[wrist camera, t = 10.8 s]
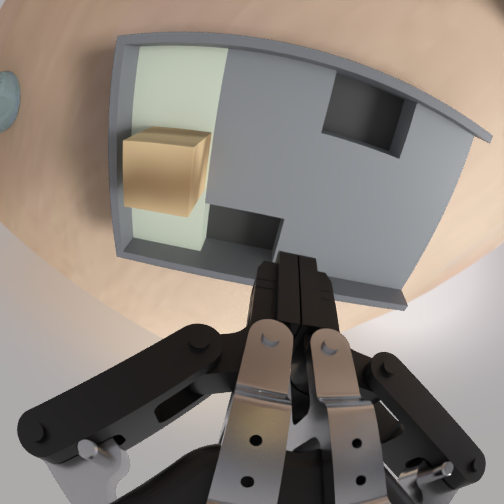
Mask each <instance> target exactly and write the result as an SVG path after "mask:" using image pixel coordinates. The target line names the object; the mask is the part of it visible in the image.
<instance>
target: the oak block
mask: <svg viewBox="0 0 504 504" xmlns="http://www.w3.org/2000/svg"><path fill="white" fill-rule="evenodd" d="M211 134H212V132H204V131H197V130H188V129H179V128H169V127H157V126H152V127H150V128H148V129H146V130H143V131H141V132H139V133H137V134H135V135H133V136H131V137H129V138H127V139H125V140H123V192H124V206H125V207H131V208H136V209H142V210H148V211H154V212H159V213H165V214H171V215H176V216H182V217H187V218H188V216H189V214H190V213H191V211H192V209H193V208H194V206H195V204H196V203H197V201H198V199H199V198H200V196H201V195H202V193H203V191H204V190H205V182H206V173H207V165H208V157H209V149H210V142H211Z"/></svg>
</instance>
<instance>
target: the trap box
mask: <svg viewBox="0 0 504 504" xmlns="http://www.w3.org/2000/svg"><path fill="white" fill-rule="evenodd" d="M152 126H157V127H169V128H179V129H188V130H197V131H204V132H212V134H211V142H210V149H209V157H208V165H207V173H206V182H205V190H204V191H203V193H202V195H201V196H200V198H199V199H198V201H197V203H196V204H195V206H194V208H193V209H192V211H191V213H190V214H189V216H188V218H187V217H182V216H176V215H171V214H165V213H159V212H154V211H148V210H142V209H136V208H131V207H125V206H124V192H123V140H125V139H127V138H129V137H131V136H133V135H135V134H137V133H139V132H141V131H143V130H146V129H148V128H150V127H152ZM474 136H475V137H478V138H480V139H482V140H484V141H486V142H488V143H490V142H491V139H492V135H491V134H490V133H488V132H487V131H486V130H484V129H483V128H482V127H480V126H479V125H477V124H476V123H475V122H473V121H472V120H470V119H469V118H467V117H466V116H464V115H463V114H461V113H460V112H458V111H456V110H455V109H453V108H452V107H450V106H448V105H447V104H445V103H443V102H441V101H440V100H438V99H436V98H434V97H433V96H431V95H429V94H427V93H425V92H423V91H421V90H419V89H417V88H416V87H414V86H411V85H409V84H407V83H405V82H403V81H401V80H399V79H397V78H394V77H392V76H390V75H388V74H385V73H383V72H380V71H378V70H375V69H373V68H370V67H368V66H365V65H362V64H360V63H357V62H354V61H351V60H348V59H345V58H342V57H339V56H336V55H333V54H329V53H326V52H322V51H319V50H315V49H311V48H307V47H303V46H299V45H294V44H290V43H285V42H280V41H275V40H269V39H263V38H256V37H249V36H241V35H232V34H221V33H205V32H156V33H141V34H130V35H121V36H117V41H116V47H115V54H114V61H113V70H112V79H111V90H110V105H109V130H108V159H109V185H110V200H111V212H112V223H113V232H114V240H115V247H116V254H117V257H121V258H125V259H129V260H134V261H138V262H142V263H147V264H151V265H155V266H160V267H164V268H169V269H173V270H178V271H182V272H187V273H192V274H196V275H201V276H206V277H211V278H216V279H221V280H226V281H230V282H236V283H241V284H246V285H251V286H253V285H254V281H255V277H256V273H257V269H258V267H259V266H260V265H261V264H262V262H263V261H264V260H265V261H270V262H274V263H275V261H276V257H277V254H278V252H279V251H284V252H289V253H293V254H297V255H298V254H299V255H303V256H308V257H313V258H316V262H317V269H318V271H319V272H324V273H326V274H327V276H328V277H329V279H330V280H331V282H332V287H333V294H334V299H335V301H341V302H347V303H354V304H360V305H367V306H373V307H380V308H387V309H394V310H401V311H404V310H405V309H406V307H407V306H408V305H407V303H406V300H405V298H404V295H403V293H402V291H401V289H402V288H403V286H404V284H405V283H406V281H407V280H408V278H409V276H410V275H411V273H412V271H413V270H414V268H415V266H416V265H417V263H418V261H419V259H420V258H421V256H422V254H423V252H424V251H425V249H426V247H427V245H428V243H429V241H430V239H431V238H432V236H433V234H434V232H435V230H436V228H437V226H438V224H439V222H440V220H441V218H442V216H443V214H444V211H445V209H446V207H447V205H448V203H449V201H450V198H451V196H452V194H453V191H454V189H455V187H456V184H457V182H458V179H459V177H460V174H461V172H462V169H463V167H464V164H465V161H466V158H467V156H468V153H469V150H470V147H471V144H472V141H473V138H474Z"/></svg>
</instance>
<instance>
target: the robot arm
mask: <svg viewBox="0 0 504 504" xmlns="http://www.w3.org/2000/svg"><path fill="white" fill-rule="evenodd" d="M334 301H335V299H334V294H333V287H332V282H331V280H330V279H329V277H328V276H327V274H326V273H324V272H319V271H318V269H317V262H316V258H313V257H308V256H303V255H299V254H298V255H297V254H293V253H289V252H284V251H279V252H278V254H277V257H276V261H275V263H274V262H270V261H265V260H264V261H263V262H262V264H261V265H260V266H259V267H258V269H257V273H256V277H255V281H254V285H253V289H252V293H251V298H250V305H249V312H248V318H247V325H246V327H245V328H244V329H243V330H241V331H239V332H236V333H230V334H219V333H218V332H217V331H216V330H215V329H214V328H212V327H210V326H208V325H204V324H191V325H188V326H185V327H183V328H182V329H180V330H178V331H176V332H175V333H173V334H171V335H169V336H168V337H166V338H164V339H162V340H161V341H159V342H157V343H155V344H154V345H152V346H150V347H149V348H146V349H145V350H143V351H141V352H139V353H137V354H136V355H134V356H132V357H130V358H129V359H126V360H125V361H123V362H121V363H119V364H117V365H115V366H114V367H112V368H110V369H108V370H106V371H104V372H103V373H100V374H99V375H97V376H95V377H93V378H91V379H89V380H87V381H86V382H83V383H81V384H80V385H78V386H76V387H74V388H72V389H70V390H68V391H66V392H64V393H62V394H60V395H58V396H56V397H54V398H52V399H50V400H48V401H46V402H44V403H42V404H40V405H38V406H36V407H34V408H32V409H30V410H28V411H26V412H25V413H24V414H23V415H22V416H21V417H20V419H19V422H18V427H17V432H18V437H19V440H20V442H21V444H22V446H23V447H24V448H25V450H26V451H28V452H29V453H30V454H32V455H34V456H36V457H38V458H40V459H42V460H44V461H45V463H46V464H47V466H48V467H49V469H50V471H51V472H52V474H53V476H54V478H55V479H56V481H57V483H58V484H59V486H60V487H61V489H62V490H63V492H64V493H65V495H66V497H67V498H68V499H69V501H70V502H71V504H449V503H450V501H451V500H452V498H453V497H454V495H455V493H456V491H457V490H458V489H459V488H462V487H464V486H467V485H470V484H472V483H475V482H477V481H479V480H480V478H481V477H482V475H483V474H484V471H485V466H486V465H485V464H486V462H485V457H484V454H483V453H482V451H481V450H480V449H479V448H478V447H477V446H476V444H475V443H474V442H473V441H472V440H471V438H470V437H469V436H468V435H467V434H466V433H465V432H464V430H463V429H462V428H461V427H460V426H459V425H458V423H456V421H455V420H454V419H453V418H452V417H451V416H450V415H449V413H447V411H446V410H445V409H444V408H443V407H442V406H441V404H440V403H439V402H438V401H437V400H436V399H435V398H434V397H433V396H432V395H431V394H430V392H429V391H428V390H427V389H426V388H425V387H424V386H423V385H422V384H421V382H420V381H419V380H418V379H417V378H416V377H415V376H414V375H413V374H412V373H411V372H410V371H409V370H408V369H407V367H406V366H405V365H404V364H403V363H402V362H401V361H400V360H399V359H398V358H397V357H396V356H394V355H393V354H391V353H388V352H380V353H377V354H376V355H375V356H374V357H373V358H370V357H368V356H365V355H363V354H361V353H358V352H356V351H354V350H352V349H351V348H350V345H349V343H348V341H347V339H346V338H345V337H344V336H343V335H342V334H341V333H340V331H339V324H338V318H337V311H336V305H335V302H334ZM290 369H291V371H290ZM224 392H232V393H231V397H230V400H229V404H228V409H227V412H226V416H225V420H224V423H223V427H222V430H221V434H220V438H219V442H218V444H213V445H208V446H204V447H201V448H198V449H195V450H193V451H191V452H189V453H187V454H186V455H184V456H182V457H181V458H180V459H178V460H177V461H176V462H175V463H173V464H171V465H170V466H169V467H167V468H166V469H164V470H163V471H161V472H160V473H158V474H157V475H155V476H154V477H152V478H151V479H149V480H148V481H146V482H145V483H144V484H142V485H140V486H138V487H137V488H136V489H134V490H132V491H131V492H129V493H127V494H125V495H124V496H122V497H120V498H118V499H117V497H116V493H115V490H116V486H117V484H118V482H119V481H120V480H121V479H122V478H123V477H124V476H126V474H127V473H128V471H129V468H130V459H129V456H128V454H127V452H126V450H127V449H129V448H131V447H133V446H134V445H136V444H138V443H139V442H141V441H143V440H144V439H146V438H148V437H149V436H151V435H153V434H154V433H156V432H157V431H159V430H160V429H162V428H163V427H165V426H167V425H168V424H170V423H171V422H173V421H174V420H176V419H177V418H179V417H180V416H182V415H183V414H185V413H186V412H188V411H189V410H191V409H192V408H194V407H195V406H196V405H198V404H199V403H201V402H202V401H203V400H205V399H206V398H208V397H209V396H210V395H211V394H215V393H224ZM380 400H381V401H382V402H383V403H384V404H385V405H386V406H387V408H388V409H389V410H390V411H391V412H392V413H393V414H394V415H395V416H396V418H397V419H398V420H399V421H397V420H396V419H395V418H394V417H393V416H392V415H391V414H390V413H389V411H387V410H386V408H385V407H384V406H383V405H382V404H381V403H380V402H379V401H380ZM383 462H384V463H385V464H386V465H387V466H388V467H389V468H390V469H391V470H392V471H393V473H394V474H395V475H396V476H397V477H398V478H399V479H397V480H396V479H395V478H394V477H393V476H392V475H391V474H390V472H389V471H388V470H387V469H386V468H385V466H384V464H383Z"/></svg>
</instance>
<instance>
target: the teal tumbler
mask: <svg viewBox="0 0 504 504" xmlns="http://www.w3.org/2000/svg"><path fill="white" fill-rule="evenodd" d="M19 105H20V87H19V82H18V79H17V77H16V76H15V75H14V74H13V73H12V72H9V71H4V72H0V133H1V132H3V131H5V130H7V129H8V128H9V127H10V126H11V125H12V124H13V123H14V121H15V119H16V117H17V114H18V110H19Z"/></svg>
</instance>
